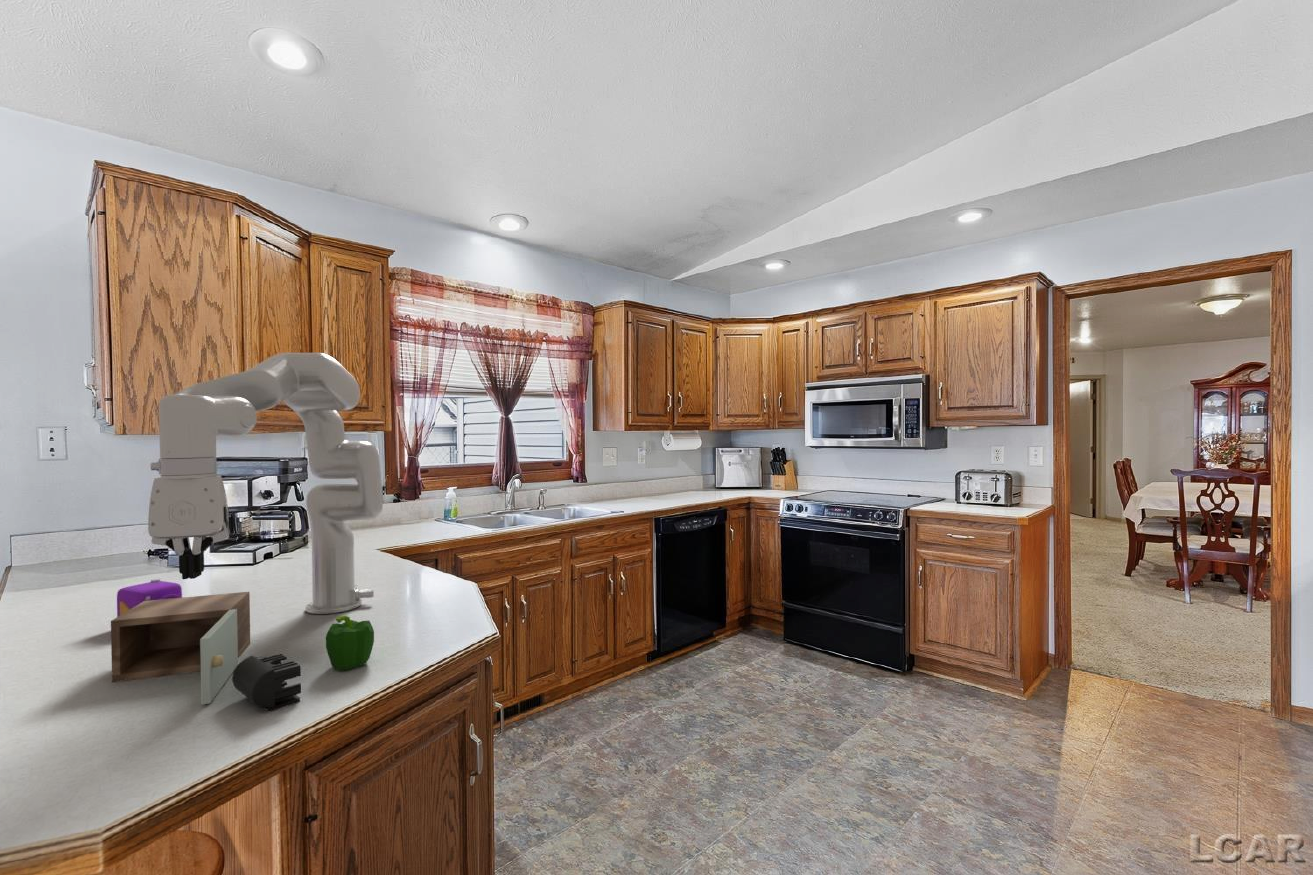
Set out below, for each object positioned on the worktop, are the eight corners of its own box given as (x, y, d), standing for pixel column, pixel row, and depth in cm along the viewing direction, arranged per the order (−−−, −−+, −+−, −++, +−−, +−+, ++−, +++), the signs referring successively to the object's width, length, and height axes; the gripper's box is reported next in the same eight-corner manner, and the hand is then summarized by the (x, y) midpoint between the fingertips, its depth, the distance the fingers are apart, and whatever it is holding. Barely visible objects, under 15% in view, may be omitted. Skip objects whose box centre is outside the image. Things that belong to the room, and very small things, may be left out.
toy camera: (156, 635, 135) (155, 590, 135) (106, 631, 137) (105, 587, 137) (201, 620, 145) (200, 578, 145) (154, 617, 148) (154, 576, 148)
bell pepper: (361, 654, 121) (360, 604, 121) (381, 664, 116) (380, 612, 116) (316, 667, 115) (316, 614, 115) (335, 678, 110) (335, 623, 110)
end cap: (232, 701, 101) (231, 660, 101) (279, 687, 106) (279, 648, 106) (252, 718, 94) (252, 675, 94) (302, 702, 100) (301, 661, 100)
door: (230, 665, 115) (229, 609, 115) (245, 663, 116) (244, 608, 116) (201, 704, 99) (200, 639, 98) (219, 701, 99) (218, 637, 99)
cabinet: (250, 643, 128) (249, 591, 128) (230, 666, 115) (229, 609, 115) (145, 655, 122) (144, 600, 122) (111, 682, 109) (110, 620, 109)
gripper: (122, 471, 96) (126, 586, 97) (231, 468, 101) (234, 579, 101) (147, 468, 104) (150, 575, 104) (248, 465, 108) (250, 568, 108)
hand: (192, 576), depth 102 cm, fingers closed
